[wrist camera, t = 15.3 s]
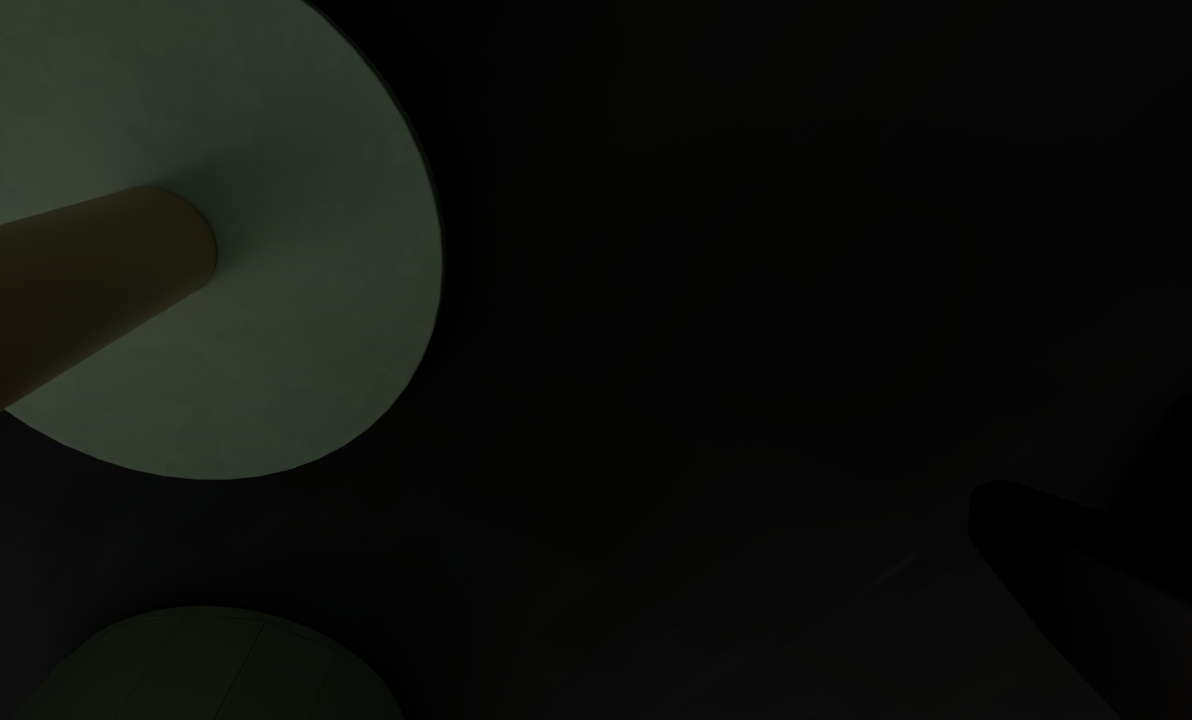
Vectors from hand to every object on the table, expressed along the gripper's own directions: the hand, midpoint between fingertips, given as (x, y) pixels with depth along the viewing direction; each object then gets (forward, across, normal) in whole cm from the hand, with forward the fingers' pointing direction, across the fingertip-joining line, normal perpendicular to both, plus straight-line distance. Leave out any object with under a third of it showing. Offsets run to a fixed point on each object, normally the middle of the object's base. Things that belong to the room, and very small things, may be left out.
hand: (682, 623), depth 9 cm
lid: (+12, +8, -4) cm, 15 cm away
